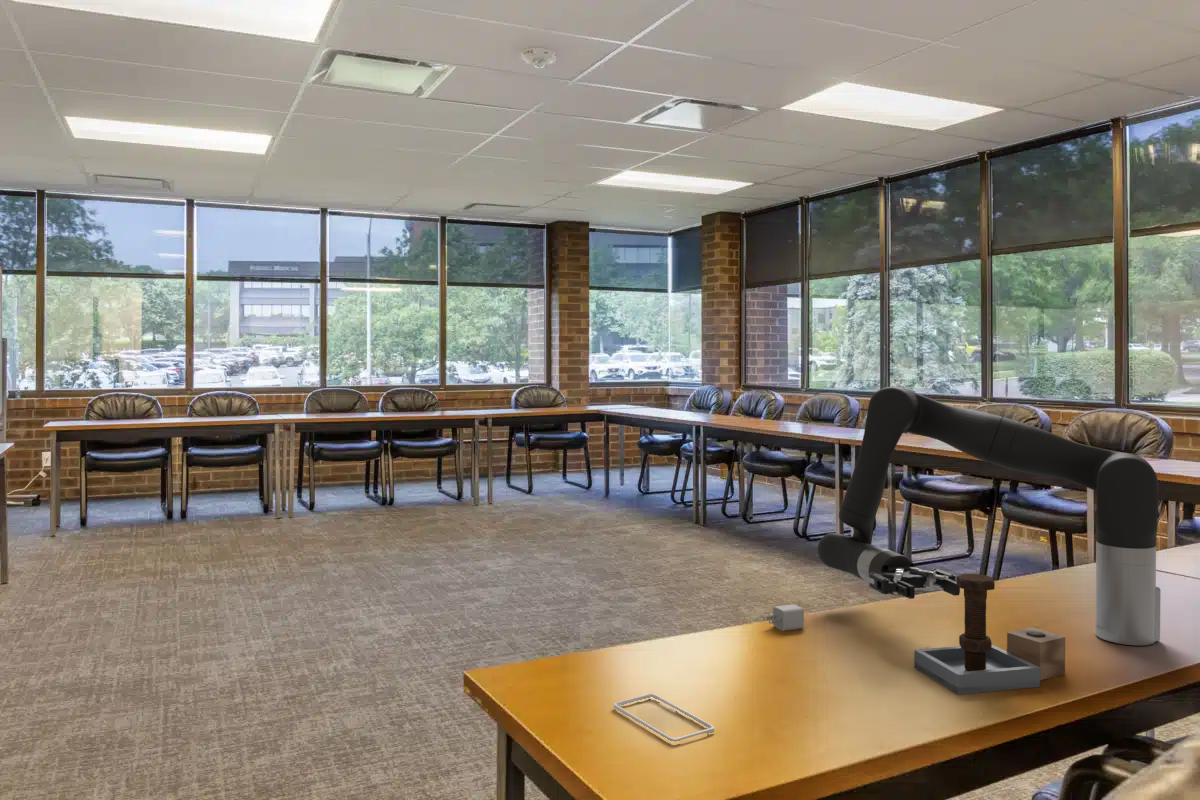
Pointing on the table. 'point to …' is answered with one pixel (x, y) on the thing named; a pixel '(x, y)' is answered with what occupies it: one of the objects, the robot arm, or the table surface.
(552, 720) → the table surface
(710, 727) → the phone case
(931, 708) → the table surface
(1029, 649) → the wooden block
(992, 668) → the tray
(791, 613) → the usb wall charger
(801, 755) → the table surface
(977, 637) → the bolt
